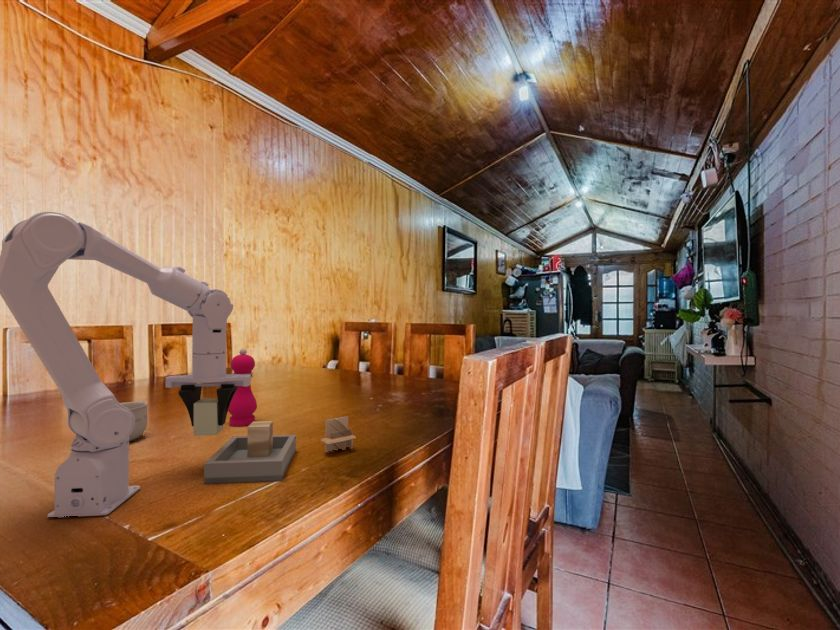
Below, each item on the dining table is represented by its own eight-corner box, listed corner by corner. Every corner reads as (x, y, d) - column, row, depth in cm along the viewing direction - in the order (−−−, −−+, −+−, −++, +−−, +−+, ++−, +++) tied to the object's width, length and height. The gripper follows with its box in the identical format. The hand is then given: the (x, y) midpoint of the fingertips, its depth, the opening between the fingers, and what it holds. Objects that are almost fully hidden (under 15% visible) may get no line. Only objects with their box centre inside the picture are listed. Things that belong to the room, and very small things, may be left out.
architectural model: (356, 453, 90) (356, 419, 90) (328, 460, 85) (328, 424, 85) (347, 449, 93) (348, 416, 93) (319, 456, 88) (320, 421, 88)
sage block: (216, 434, 77) (216, 402, 77) (193, 435, 76) (193, 403, 76) (223, 428, 81) (223, 398, 81) (201, 429, 80) (201, 398, 80)
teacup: (117, 449, 89) (117, 412, 89) (76, 445, 91) (76, 409, 91) (169, 431, 102) (169, 399, 102) (132, 428, 105) (132, 397, 105)
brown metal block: (268, 456, 83) (268, 426, 83) (247, 456, 83) (247, 426, 83) (272, 449, 87) (273, 421, 87) (252, 450, 87) (253, 421, 86)
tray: (281, 480, 74) (281, 461, 74) (203, 483, 72) (204, 463, 72) (295, 450, 90) (295, 434, 90) (232, 452, 88) (232, 436, 88)
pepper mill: (227, 421, 113) (228, 347, 112) (255, 418, 116) (256, 347, 116) (227, 428, 106) (228, 350, 106) (257, 425, 109) (258, 349, 109)
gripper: (254, 350, 84) (254, 418, 84) (177, 350, 81) (176, 420, 81) (245, 354, 77) (245, 427, 77) (160, 354, 74) (159, 430, 74)
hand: (208, 424), depth 79 cm, fingers closed on sage block, 4 cm apart
